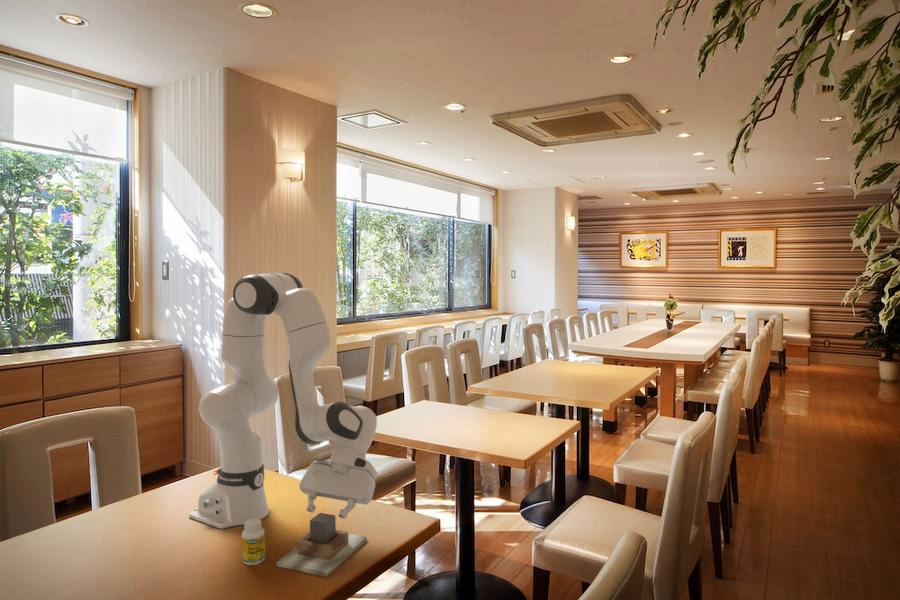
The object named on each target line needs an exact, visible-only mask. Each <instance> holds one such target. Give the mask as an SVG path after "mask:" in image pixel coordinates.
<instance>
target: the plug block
mask: <svg viewBox="0 0 900 600" xmlns="http://www.w3.org/2000/svg"><path fill="white" fill-rule="evenodd" d="M336 530H337V529H336V515H335V514H328V513H323V512H318V514H316V515H315V516H314V517H312V518H311V519H310V520H309V533H310V541H311V542H316V543H321V544H328V543H330V542H331V541H332V540H333V539H334V538H336Z"/></svg>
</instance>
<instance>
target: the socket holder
mask: <svg viewBox="0 0 900 600" xmlns="http://www.w3.org/2000/svg"><path fill="white" fill-rule="evenodd" d="M366 542H367V536H364V535H359V534H353V533H349V532H348V531H343V530H338V529H336V538H334V539H333V540H332V541H331V542H330V543H328V544H321V543H316V542H311V541H310V532H309V533H308V534H306V535H305V536H304V537H302V538H301V539H300V540H298V541H297V542H296V543H297V545H296V546H295V547H294V548H293V549H292V550H290V551H289V552H288V553H287V554H285V555H284V556H282V557H281V558H279V560H277V561H276V562H275V563H276V567H278V568H279V567H280V568H284V569H288V570H293V571H297V572H301V573H307V574H312V575H314V576H315V575H316V576H320V577H326V578H327V577H329V576H330V575H331V574H332V573H333V572H334V571H336V569H337V568H339V567H340V566H341V563H342V562H343V561H344V560H345V561H346V560H347V559H348V558H349V557H350V556H352V555H353V554H354V553H355V552H356V551H357V550H358V549H359V548H361V546H362V545H364V544H365V543H366ZM353 552H354V553H353ZM345 561H344V562H345ZM344 562H343V563H344ZM343 563H342V564H343Z"/></svg>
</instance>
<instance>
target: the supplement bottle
mask: <svg viewBox="0 0 900 600" xmlns="http://www.w3.org/2000/svg"><path fill="white" fill-rule="evenodd" d="M262 524H263V523H262V519H261V520H260V519H250V520H247V521H246V522H245V523H244V525H243V528H244V530H242V533H241V548H242V549H241V553H242V555H241V556H242V563H243V564H245V565H247V566H255V565H259V564H260V563H262V562H263V561H265V559H266V535H265V534H266V533H265V532H266V531H265V529H264V528H263V527H262Z"/></svg>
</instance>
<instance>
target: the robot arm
mask: <svg viewBox="0 0 900 600" xmlns="http://www.w3.org/2000/svg"><path fill="white" fill-rule="evenodd" d="M271 314H276V315H278V316H279V318H280V319H281V321H282V323H283V327H284V330H285V334H286V337H287V342H288V348H289V349H288V350H289V358H288V372H289V379H290V385H291V391H292V397H293V402H294V408H295V409H294V410H295V420H294V421H295V423H294V425H295V426H294V427H295V431H296V434H297V436H298V438H299V439H300V440H301V441H302V442H303V443H305V444H307V445H311V446H312V445H317V444H320V443H324V442H327V441H333V442H334V443H335V446H334V449H333V451H332V453H331V456H330V458H329V461H328V460H320V459H316V460H315V461H312V462H311V463H309V465H308V467H307V469H306V472H305V474H303V477H302V478H301V480H300V483H299V485H298V487H299V489H300V491H301V492H302V493H303V494H305V495H307V499H308V500H307V502H308V503H307V507H306V511H307V512H308V513H312V514H313V513H315V511H316V509H317V505H316V504H315V502H314V501H316V499H317V497H321V498H326V499H331V500H332V499H333V500H338V501H343V502H347V503H346V504H347V505H346V506H345V507H344V508H340V509H339V513H338V517H339V518H340V519H344V520H346V519H347V517H348V515H349V513H350V512H351V511H352V510H354V509H355V508H356V505H357V504H360V505H365V506H366V505H368V504H369V503H371V502H372V499H373V496H374V493H375V489H376V479H377V477H378V471H377V470H376V468H375V467H374V465H373V464H372V463H371V462H370V461H369V460H367V459H366V458H367V452H368V450H369V448H370V447H371V445H372V443H373V440H374V438H375V434H376V431H377V430H376V429H377V426H378V419H377V418H378V417H377V415H376V413H375V412H374V411H373V410H372V409H371V408H369V407H367V406H364V405H356V406H355V405H350V404H348V403H346V402H343V401H335V402H331V403H325V404H322V405H320V404H319V402H318V399H317V393H316V392H317V391H316V387H315V383H314V371H315V369H316V367H317V365H318V364H319V362H320V361H321V360H322V359H323V358H324V357H325V356H326V354H327V352H328V351H329V349H330V347H331V343H332V342H331V333H330V328H329V326H328V323H327V320H326V316H325V313H324V310H323V308H322V305H321V304H320V302H319V300H318V298H317V296H316V294H315V292H314V291H313V290H312V289H309V288H305V287H303V284H302V282H301V281H300V279H299V278H298V277H296V276H295V275H293V274H290V273H285V272H280V273H279V272H265V273H259V274H258V273H257V274H249V275H246V276H244V277H242V278H240V279H239V280H237V282H236V283H235V285H234V287H233V290H232V297H231V298H230V299H228V300H227V303H226V307H225V311H224V316H223V321H222V322H223V323H222V333H221V334H222V335H221V336H222V337H221V341H222V342H221V361H222V363H223V364H224V365H225V366H227V367H228V368H230V369H231V372H232V375H233V381H232V382H231V383H227V384H222V385H219V386H216V387H215V388H213V389H211V390H209V391H207V392H206V393H204V394H203V395H202V397H200V400H199V405H198V411H199V414H200V417H201V419H202V420H203V422H204V423H205V424H206V425H208V426H210V427H211V428H212V429H214V431H215V433H216V436H217V438H218V440H219V447H220V460H221V467H219V469H216V470H214V471H213V473H214V474H213V476H216V475H217V478H216V480H215V481H213V483H212V484H210V485H209V486H208V487H206V488H205V489H204V490H203V491H202V492H201V493H200V495H199V496H198V502H197V506H195V507H194V508H193V509H192V510H191V511H190V512H189V514H188V517H189V518H191V519H193V520H194V521H195V520H196V521H198V522H202V523H203V524H206V525H209V526H212V527H215V528H218V529H226V528H231V527H236V526H242V525H243V526H244V523H245V522H246V521H247V520H250V519H260V520H261V521H262V520H263V519H264V518H266V517H267V516H268V515H269V514H270V508H269V504H268V501H267V498H266V497H267V496H266V493H265V492H266V491H265V485H264V482H265V481H264V480H265V465H264V463H263V445H262V444H263V441H262V438H261V436H260V435H259V434H257V433H256V432H254V431H253V430H252V428H251V426H250V418H252V417H256V416H257V415H261V414H264V413H265V412H267V411H268V410H269V409H271V408H272V407H274V406H275V405H276V403H277V402H278V400H279V398H278V397H279V389H278V386H277V384H276V383H275V382H274V380H272V379H271V378H270V377H269V375H268V373H267V370H266V367H265V362H264V339H265V338H264V337H265V336H264V335H265V333H264V332H265V330H264V329H265V320H266V317H267V316H269V315H271Z"/></svg>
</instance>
